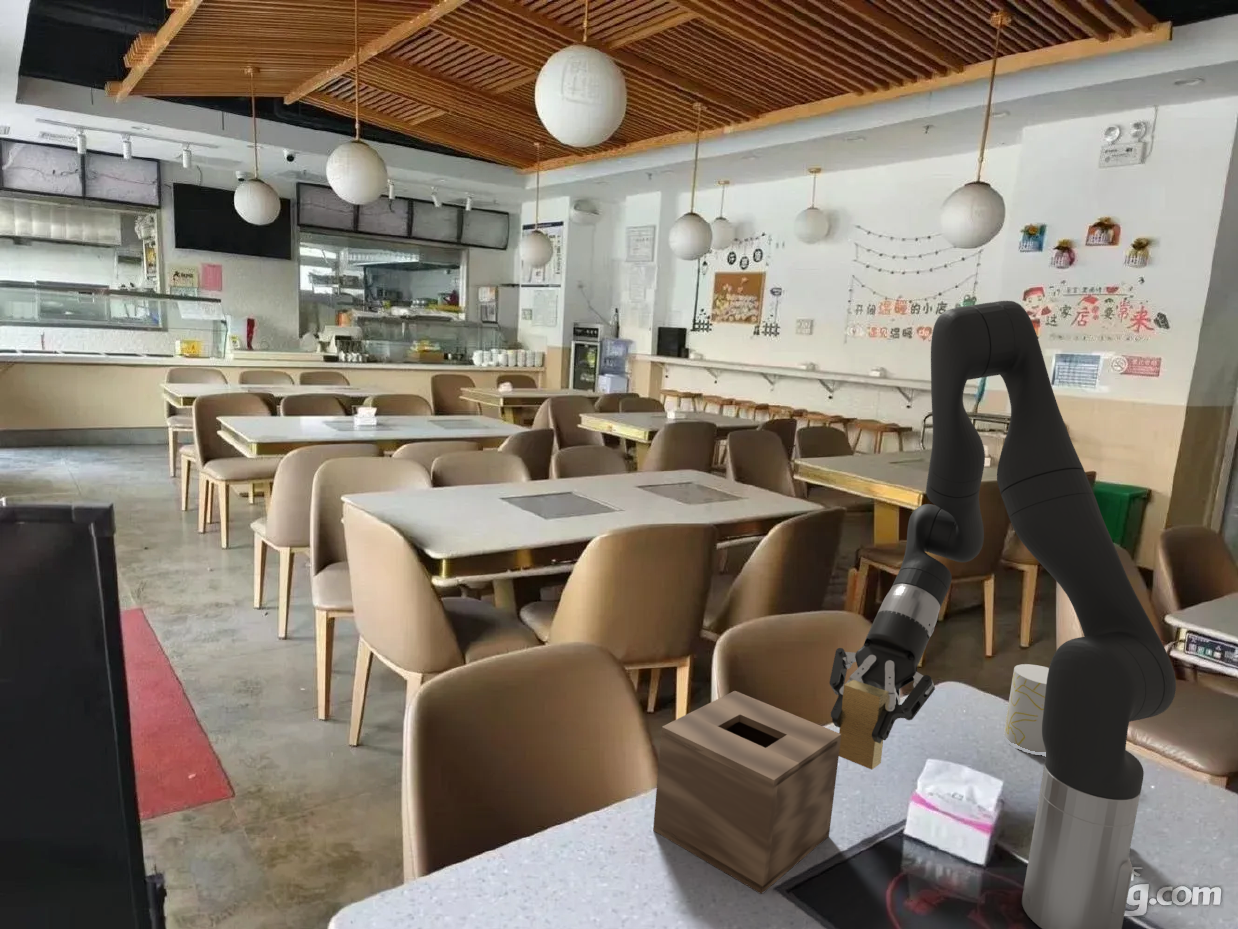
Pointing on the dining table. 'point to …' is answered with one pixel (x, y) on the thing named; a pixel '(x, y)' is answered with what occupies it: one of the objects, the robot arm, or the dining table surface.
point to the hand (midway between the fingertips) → (855, 731)
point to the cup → (1027, 707)
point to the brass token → (861, 723)
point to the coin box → (746, 787)
